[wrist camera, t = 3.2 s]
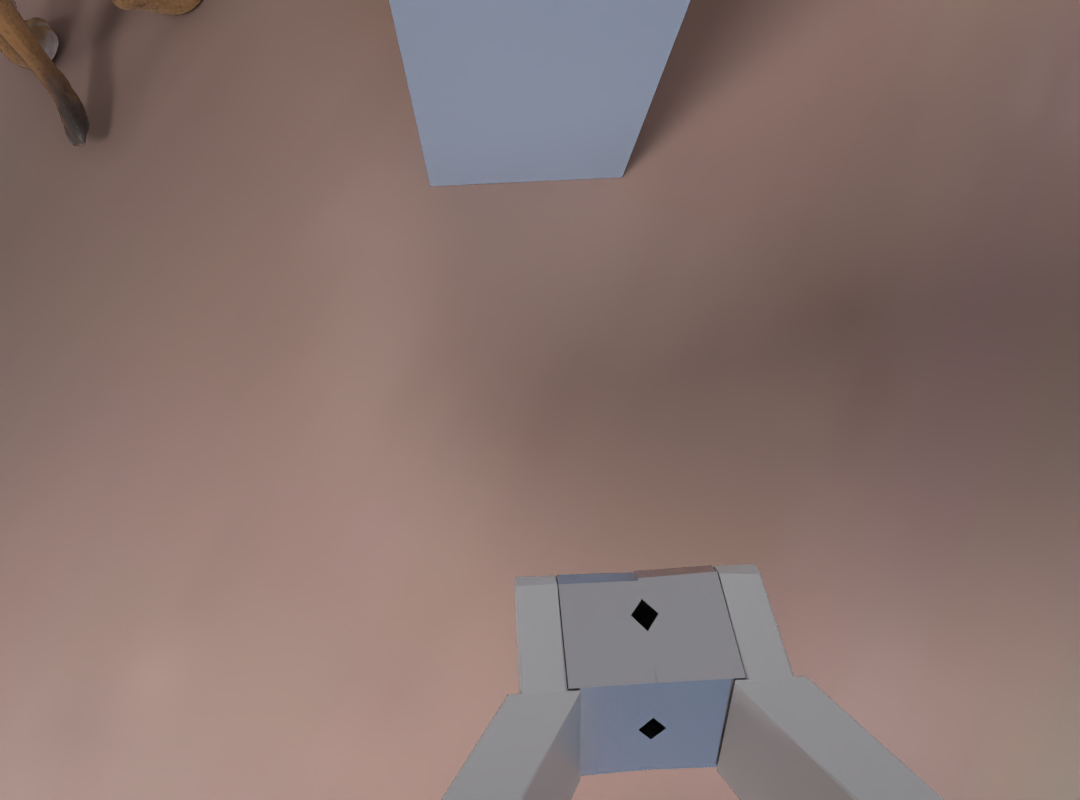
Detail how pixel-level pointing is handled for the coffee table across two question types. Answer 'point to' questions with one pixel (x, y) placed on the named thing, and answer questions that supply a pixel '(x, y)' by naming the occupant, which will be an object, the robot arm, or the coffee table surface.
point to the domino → (532, 84)
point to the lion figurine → (38, 47)
